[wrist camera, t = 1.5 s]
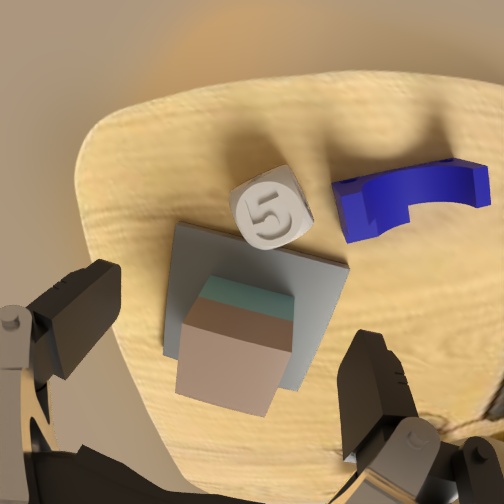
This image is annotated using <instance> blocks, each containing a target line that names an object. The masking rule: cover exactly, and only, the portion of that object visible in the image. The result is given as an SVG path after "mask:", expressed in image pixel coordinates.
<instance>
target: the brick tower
mask: <svg viewBox="0 0 504 504" xmlns="http://www.w3.org/2000/svg"><path fill="white" fill-rule="evenodd" d="M349 271H350V268H349V265H346V264H342V263H339V262H335V261H331V260H327V259H324V258H320V257H316V256H312V255H308V254H305V253H301V252H297V251H293V250H289V249H286V248H282V247H277V248H273V249H269V250H261V249H258V248H256V247H253V246H251V245H250V244H249V243H248V242H247V241H246V239H245V238H243V237H239V236H235V235H232V234H228V233H224V232H220V231H216V230H212V229H208V228H204V227H200V226H196V225H192V224H188V223H184V222H180V221H179V222H178V223H177V224H176V225H175V233H174V240H173V248H172V257H171V265H170V275H169V284H168V294H167V305H166V317H165V330H164V345H163V355H164V356H167V357H170V358H173V359H176V360H178V367H177V377H176V389H175V393H177V394H180V395H183V396H186V397H189V398H192V399H196V400H199V401H202V402H206V403H209V404H213V405H216V406H220V407H223V408H227V409H231V410H235V411H239V412H243V413H247V414H251V415H256V416H260V417H265V415H266V413H267V411H268V409H269V406H270V404H271V402H272V399H273V397H274V395H275V392H276V390H277V388H278V387H279V388H283V389H288V390H293V391H298V390H299V388H300V386H301V383H302V381H303V379H304V377H305V375H306V373H307V371H308V369H309V367H310V364H311V362H312V360H313V358H314V356H315V353H316V351H317V349H318V347H319V345H320V342H321V340H322V338H323V335H324V333H325V331H326V328H327V326H328V324H329V321H330V319H331V317H332V314H333V312H334V309H335V307H336V304H337V302H338V299H339V297H340V294H341V292H342V289H343V287H344V284H345V282H346V279H347V276H348V274H349Z"/></svg>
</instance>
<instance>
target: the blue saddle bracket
mask: <svg viewBox="0 0 504 504" xmlns="http://www.w3.org/2000/svg"><path fill="white" fill-rule="evenodd" d="M331 184H332V188H333V192H334V196H335V200H336V205H337V209H338V214H339V218H340V223H341V227H342V232H343V235H344V237H345V240H346V242H347V244H348V243H352V242H356V241H361V240H365V239H369V238H374V237H378V236H379V235H381V234H382V233H384V232H385V231H387V230H389V229H391V228H394V227H396V226H399V225H402V224H405V223H409V222H410V218H409V211H408V205H413V204H418V203H426V202H455V203H462V204H466V205H470V206H473V207H475V208H480V207H484V206H488V205H491V197H490V185H489V175H488V166H485V165H482V164H478V163H474V162H470V161H465V160H461V159H457V158H450V159H445V160H439V161H434V162H429V163H424V164H418V165H413V166H408V167H403V168H399V169H394V170H389V171H384V172H379V173H375V174H370V175H366V176H361V177H356V178H352V179H348V180H343V181H339V182H335V183H331Z"/></svg>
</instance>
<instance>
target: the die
mask: <svg viewBox="0 0 504 504" xmlns="http://www.w3.org/2000/svg"><path fill="white" fill-rule="evenodd" d="M229 204H230V208H231V212H232V215H233V217H234V220H235V222H236V224H237V226H238V228H239V230H240V232H241V233H242V235H243V237H244V238H245V239H246V241H247V242H248V243H249V244H250V245H251V246H253V247H256V248H258V249H261V250H269V249H273V248H277V247H280V246H282V245H285V244H287V243H289V242H291V241H293V240H295V239H297V238H298V237H300V236H302V235H303V234H304V233H306V232H307V231H308V230H309V229H310V228H311V227H312V225H313V223H314V219H313V216H312V213H311V210H310V208H309V205H308V203H307V200H306V198H305V196H304V194H303V191H302V189H301V187H300V185H299V183H298V181H297V179H296V177H295V175H294V173H293V172H292V170H291V168H290V167H289V166H288V165H281V166H279V167H276V168H274V169H271V170H269V171H267V172H265V173H262V174H260V175H258V176H256V177H254V178H252V179H250V180H248V181H247V182H245V183H243V184H241V185H239V186H238V187H236V188H234V189H233V190H232V191H230V194H229Z"/></svg>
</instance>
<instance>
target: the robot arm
mask: <svg viewBox="0 0 504 504" xmlns="http://www.w3.org/2000/svg"><path fill="white" fill-rule="evenodd" d="M120 308H121V267H120V266H119V265H118V264H115V263H112V262H109V261H106V260H102V259H98V260H96V261H95V262H93V263H92V264H91V265H90V266H88V267H87V268H85V269H84V268H82V269H80V270H77V271H74V272H71V273H70V274H68V275H67V276H66V277H64V278H63V279H61V281H60V282H57V283H56V284H55V285H53V288H50V289H48V290H47V291H46V292H44V293H43V294H42V295H41V296H39V297H38V298H37V299H36V300H34V301H33V302H32V303H31V304H29V305H28V306H27V307H22V306H19V305H9V306H4V307H2V308H0V504H265V503H259V502H253V501H247V500H242V499H237V498H232V497H227V496H223V495H219V494H196V493H181V492H171V491H166V490H164V489H162V488H160V487H158V486H156V485H155V484H153V483H152V482H150V481H148V480H147V479H145V478H144V477H142V476H141V475H139V474H137V473H136V472H135V471H133V470H132V469H130V468H129V467H127V466H126V465H124V464H123V463H121V462H119V461H116V460H114V459H112V458H110V457H107V456H105V455H103V454H101V453H99V452H97V451H95V450H92V449H91V448H89V447H87V446H84V445H83V444H82V446H81V447H80V449H79V451H78V453H72V452H66V451H60V448H59V445H58V442H57V439H56V436H55V431H54V423H53V414H52V404H51V392H50V391H51V390H50V382H49V379H50V377H51V376H52V375H53V374H54V375H56V376H58V377H60V378H62V379H64V380H66V379H67V378H68V377H69V375H70V374H71V373H72V372H73V370H74V369H75V368H76V367H77V365H78V364H79V363H80V362H81V361H82V360H83V358H84V357H85V356H86V355H87V353H88V352H89V351H90V350H91V349H92V347H93V346H94V345H95V344H96V343H97V341H98V340H99V339H100V338H101V337H102V336H103V334H104V333H105V332H106V331H107V330H108V329H109V327H110V326H111V325H112V324H113V323H114V322H115V320H116V319H117V317H118V315H119V312H120ZM404 374H405V373H404V370H403V367H402V365H401V362H400V361H399V359H398V358H397V357H396V356H395V354H394V353H393V352H392V351H389V350H387V347H386V344H385V341H384V338H383V336H382V334H380V333H376V332H371V331H366V330H361V329H360V330H358V332H357V333H356V335H355V336H354V339H353V341H352V343H351V345H350V347H349V349H348V351H347V353H346V355H345V356H344V358H343V360H342V362H341V364H340V367H339V370H338V374H337V388H338V398H339V409H340V421H341V434H342V450H343V462H356V464H357V469H356V470H355V471H354V472H353V473H352V475H351V476H350V477H349V478H348V479H347V480H346V482H345V483H344V484H343V485H342V486H341V487H340V489H339V490H338V491H337V492H336V493H335V494H334V495H333V496H332V497H331V499H330V500H329V501H328V502H327V503H326V504H451V503H452V502H453V501H454V500H456V499H457V498H459V503H460V504H504V478H503V474H502V472H501V468H500V464H499V461H498V458H497V455H496V452H495V450H494V448H493V447H492V445H491V444H490V443H489V442H488V441H487V440H485V439H484V438H481V437H477V436H474V437H470V438H468V439H467V440H466V441H465V442H464V443H463V444H462V445H461V446H456V445H452V444H449V443H446V442H443V441H440V436H439V434H438V432H437V430H436V429H435V427H434V426H433V425H432V424H431V423H429V422H428V421H426V420H424V419H422V418H419V416H418V413H417V410H416V407H415V403H414V400H413V397H412V394H411V391H410V388H409V385H407V384H408V382H407V379H406V376H404Z"/></svg>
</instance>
